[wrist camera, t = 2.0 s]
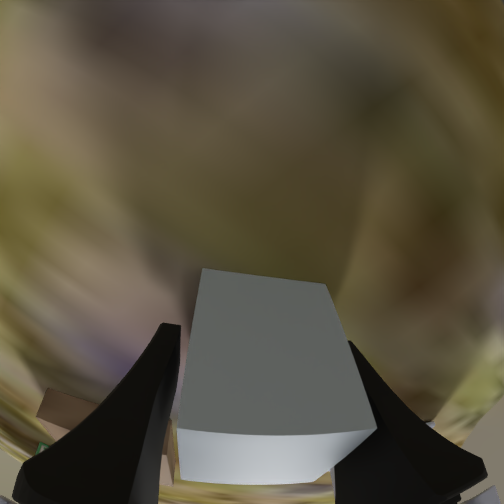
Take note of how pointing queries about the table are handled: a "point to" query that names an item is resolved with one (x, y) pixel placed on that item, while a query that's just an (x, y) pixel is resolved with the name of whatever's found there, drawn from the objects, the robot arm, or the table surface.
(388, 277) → the table surface
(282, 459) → the slate block
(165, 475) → the walnut block
